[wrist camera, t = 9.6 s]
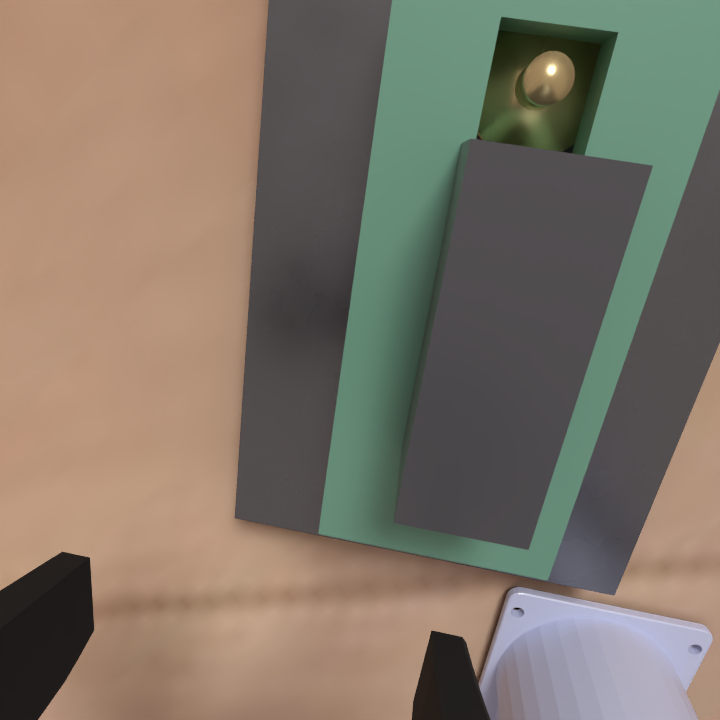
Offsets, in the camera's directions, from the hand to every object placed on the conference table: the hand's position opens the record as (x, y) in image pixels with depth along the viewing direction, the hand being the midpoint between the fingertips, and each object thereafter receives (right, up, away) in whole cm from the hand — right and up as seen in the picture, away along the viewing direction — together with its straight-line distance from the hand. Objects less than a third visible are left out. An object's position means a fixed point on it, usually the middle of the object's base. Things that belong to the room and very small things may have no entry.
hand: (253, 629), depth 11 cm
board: (+5, +7, +4) cm, 10 cm away
